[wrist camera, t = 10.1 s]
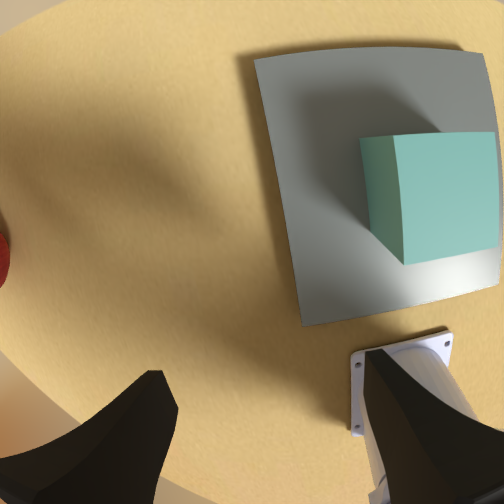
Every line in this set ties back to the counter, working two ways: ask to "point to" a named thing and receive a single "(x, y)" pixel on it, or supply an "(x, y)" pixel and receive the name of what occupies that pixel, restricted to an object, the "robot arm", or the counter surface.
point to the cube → (432, 193)
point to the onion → (4, 259)
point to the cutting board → (352, 172)
